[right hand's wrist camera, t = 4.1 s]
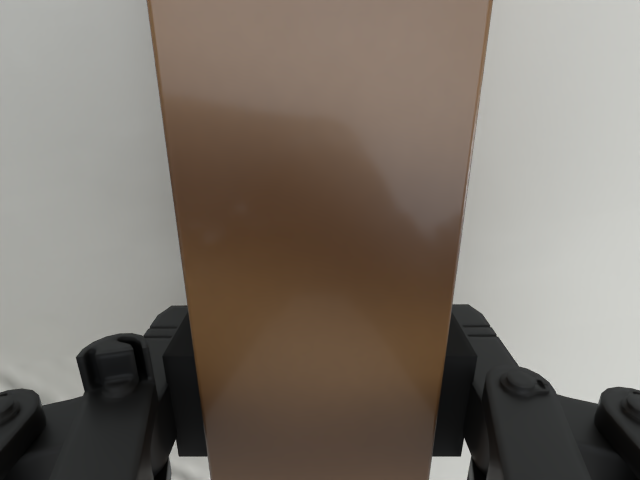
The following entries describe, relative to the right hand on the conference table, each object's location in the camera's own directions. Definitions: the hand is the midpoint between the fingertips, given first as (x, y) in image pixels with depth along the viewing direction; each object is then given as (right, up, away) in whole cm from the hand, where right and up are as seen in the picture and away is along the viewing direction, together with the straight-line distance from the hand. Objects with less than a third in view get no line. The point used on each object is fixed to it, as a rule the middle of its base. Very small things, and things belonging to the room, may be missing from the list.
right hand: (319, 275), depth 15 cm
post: (0, +20, -7) cm, 22 cm away
